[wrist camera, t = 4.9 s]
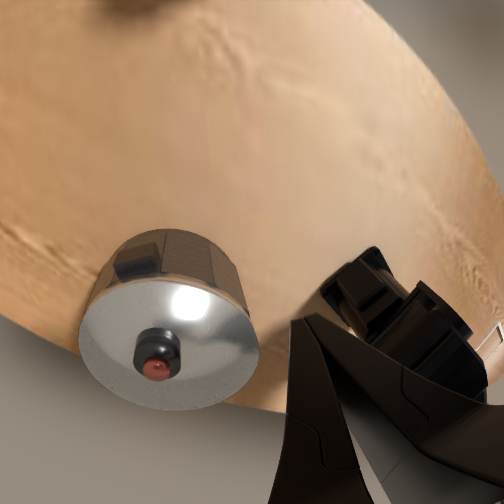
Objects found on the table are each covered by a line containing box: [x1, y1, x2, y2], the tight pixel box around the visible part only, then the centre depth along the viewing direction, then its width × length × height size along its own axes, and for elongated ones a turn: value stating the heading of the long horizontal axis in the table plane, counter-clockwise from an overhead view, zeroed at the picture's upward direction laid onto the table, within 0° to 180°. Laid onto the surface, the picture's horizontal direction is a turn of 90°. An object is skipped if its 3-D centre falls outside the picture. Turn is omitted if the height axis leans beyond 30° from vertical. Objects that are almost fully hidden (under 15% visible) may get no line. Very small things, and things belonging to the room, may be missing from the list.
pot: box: [84, 229, 250, 318], centre depth 20 cm, size 12×11×6 cm
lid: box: [78, 273, 259, 411], centre depth 16 cm, size 11×11×3 cm
